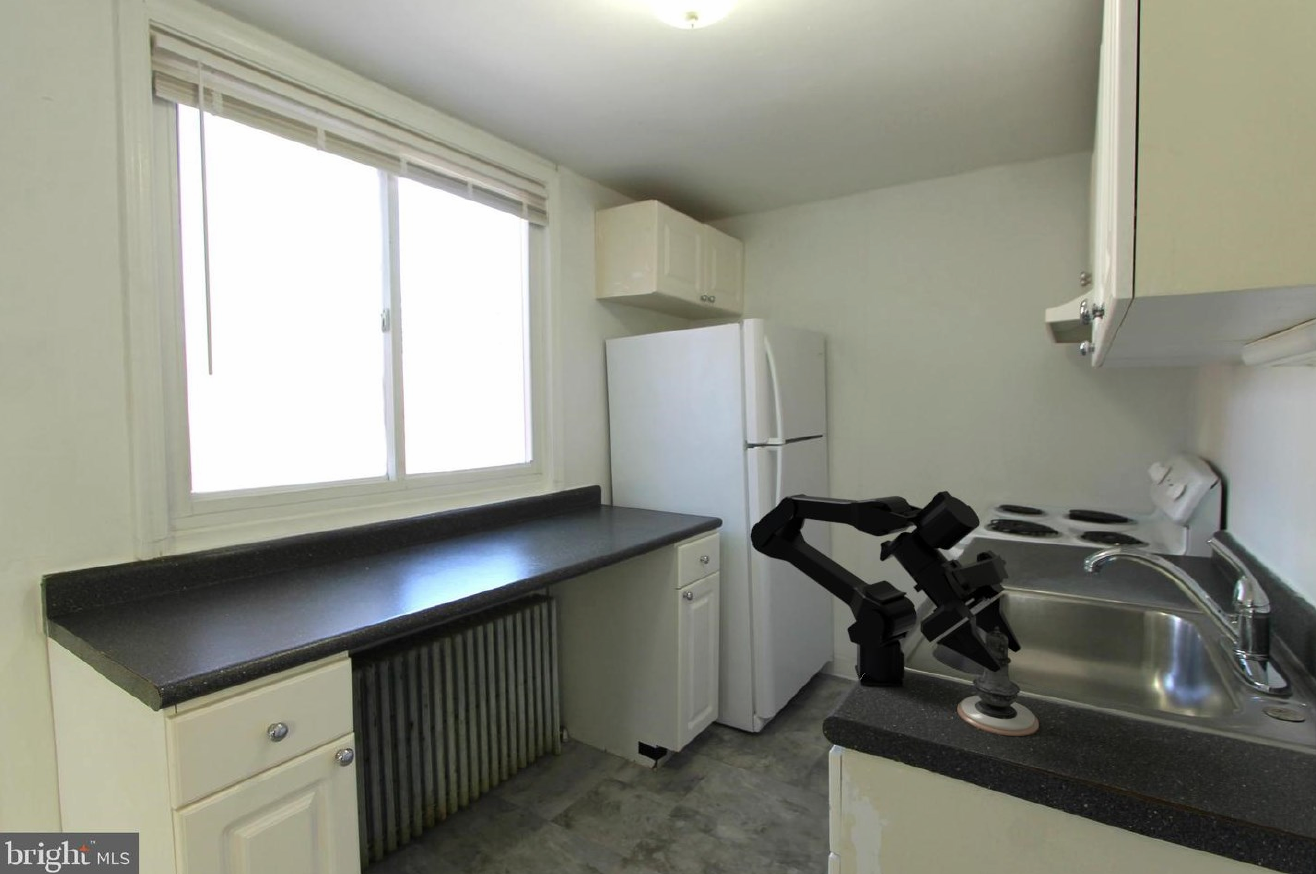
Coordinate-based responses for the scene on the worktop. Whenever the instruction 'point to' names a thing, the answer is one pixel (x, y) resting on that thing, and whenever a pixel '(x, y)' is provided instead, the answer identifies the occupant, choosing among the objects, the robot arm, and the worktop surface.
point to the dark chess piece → (997, 681)
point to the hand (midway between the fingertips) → (1008, 660)
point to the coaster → (1011, 727)
